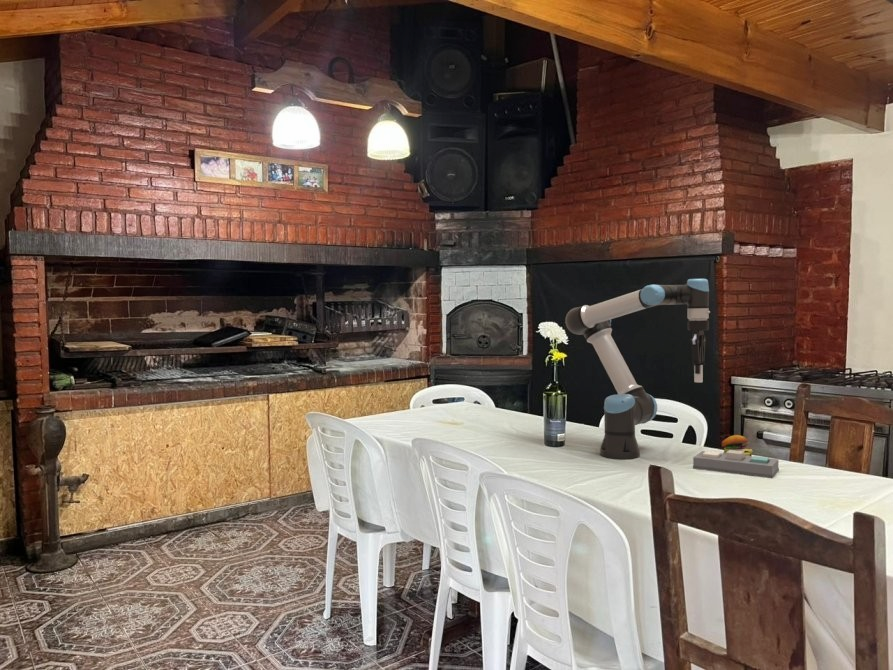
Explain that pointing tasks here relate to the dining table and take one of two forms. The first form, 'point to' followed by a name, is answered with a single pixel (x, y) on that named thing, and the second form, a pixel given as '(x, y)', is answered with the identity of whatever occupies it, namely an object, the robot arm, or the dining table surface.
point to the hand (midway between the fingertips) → (698, 382)
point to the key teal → (760, 459)
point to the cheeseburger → (736, 444)
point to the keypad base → (736, 465)
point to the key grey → (735, 455)
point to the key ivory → (711, 454)
